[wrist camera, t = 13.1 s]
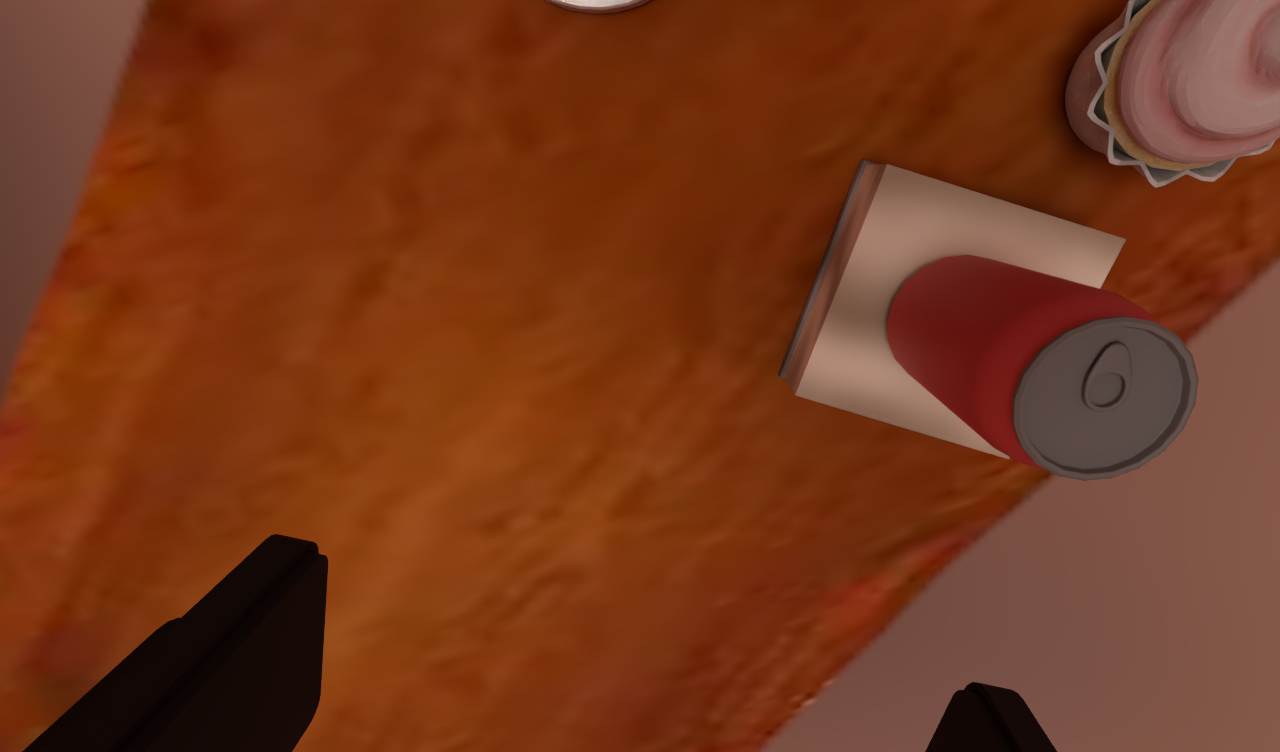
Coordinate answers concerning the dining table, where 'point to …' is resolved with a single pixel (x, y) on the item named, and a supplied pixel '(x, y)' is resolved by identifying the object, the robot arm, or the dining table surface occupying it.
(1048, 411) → the beer can
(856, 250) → the stand
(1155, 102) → the cupcake
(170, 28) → the dining table surface
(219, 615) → the robot arm
